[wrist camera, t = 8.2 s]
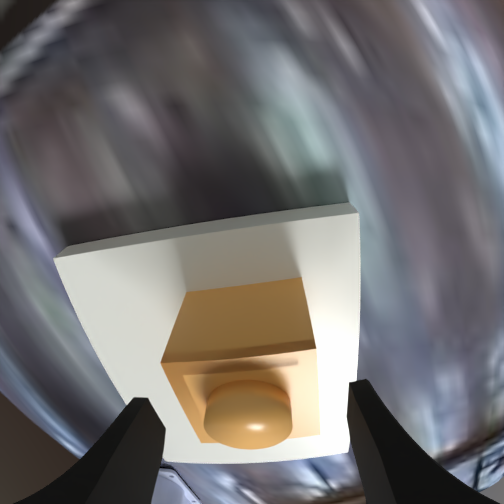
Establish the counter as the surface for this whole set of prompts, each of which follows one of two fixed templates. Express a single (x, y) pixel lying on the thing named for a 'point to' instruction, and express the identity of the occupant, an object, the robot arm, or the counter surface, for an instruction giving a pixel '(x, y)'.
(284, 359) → the orange domed block
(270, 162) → the counter surface
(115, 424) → the robot arm
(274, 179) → the counter surface
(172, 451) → the white board
